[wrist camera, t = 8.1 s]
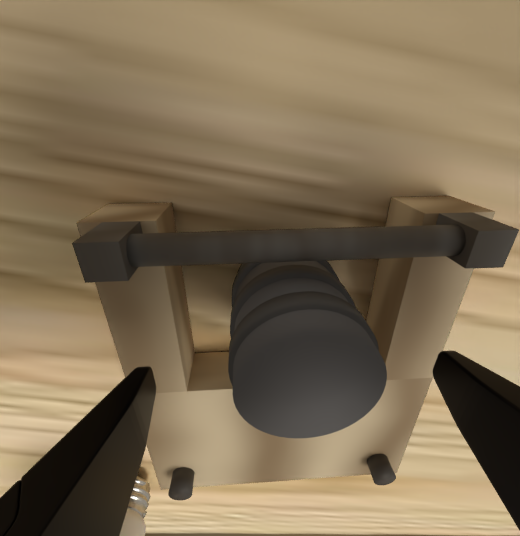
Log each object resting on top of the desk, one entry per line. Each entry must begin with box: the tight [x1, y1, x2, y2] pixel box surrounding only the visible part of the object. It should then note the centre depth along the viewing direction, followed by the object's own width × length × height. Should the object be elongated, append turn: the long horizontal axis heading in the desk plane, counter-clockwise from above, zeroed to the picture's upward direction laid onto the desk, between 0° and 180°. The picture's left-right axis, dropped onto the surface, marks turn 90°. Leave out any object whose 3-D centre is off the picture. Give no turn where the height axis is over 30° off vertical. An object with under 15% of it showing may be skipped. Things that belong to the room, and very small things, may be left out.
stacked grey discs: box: [228, 260, 387, 438], centre depth 11 cm, size 5×5×6 cm
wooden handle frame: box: [72, 196, 519, 500], centre depth 13 cm, size 14×16×4 cm
